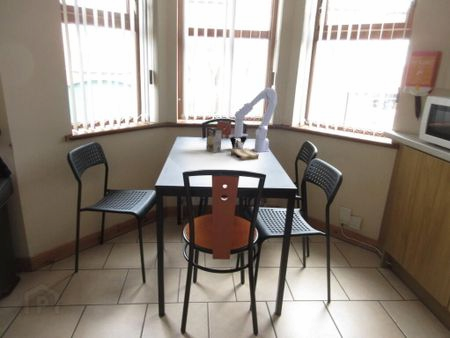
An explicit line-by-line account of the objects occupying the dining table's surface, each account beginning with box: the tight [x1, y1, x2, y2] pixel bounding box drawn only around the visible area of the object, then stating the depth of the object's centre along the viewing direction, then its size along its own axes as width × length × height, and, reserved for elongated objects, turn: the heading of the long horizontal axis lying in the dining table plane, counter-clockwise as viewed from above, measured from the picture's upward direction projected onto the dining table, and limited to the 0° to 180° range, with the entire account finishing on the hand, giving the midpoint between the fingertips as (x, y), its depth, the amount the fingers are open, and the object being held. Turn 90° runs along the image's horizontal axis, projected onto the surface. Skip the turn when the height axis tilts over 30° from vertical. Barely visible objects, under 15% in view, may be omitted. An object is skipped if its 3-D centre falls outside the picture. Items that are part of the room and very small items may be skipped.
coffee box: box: [205, 126, 223, 154], centre depth 214 cm, size 9×6×16 cm
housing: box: [231, 139, 244, 150], centre depth 222 cm, size 4×8×7 cm, turn 28°
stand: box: [230, 148, 260, 161], centre depth 207 cm, size 12×16×3 cm
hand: (237, 147), depth 222 cm, fingers open, 6 cm apart
